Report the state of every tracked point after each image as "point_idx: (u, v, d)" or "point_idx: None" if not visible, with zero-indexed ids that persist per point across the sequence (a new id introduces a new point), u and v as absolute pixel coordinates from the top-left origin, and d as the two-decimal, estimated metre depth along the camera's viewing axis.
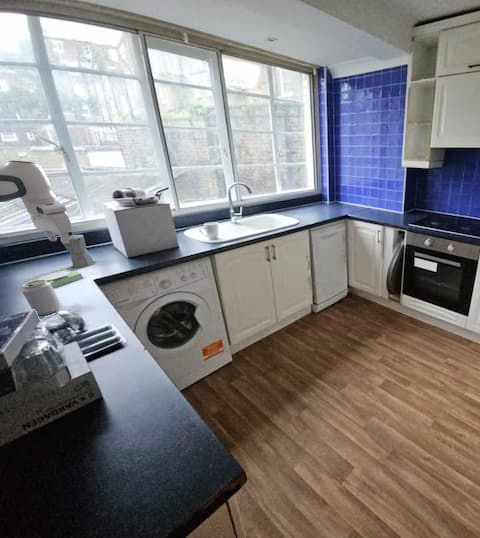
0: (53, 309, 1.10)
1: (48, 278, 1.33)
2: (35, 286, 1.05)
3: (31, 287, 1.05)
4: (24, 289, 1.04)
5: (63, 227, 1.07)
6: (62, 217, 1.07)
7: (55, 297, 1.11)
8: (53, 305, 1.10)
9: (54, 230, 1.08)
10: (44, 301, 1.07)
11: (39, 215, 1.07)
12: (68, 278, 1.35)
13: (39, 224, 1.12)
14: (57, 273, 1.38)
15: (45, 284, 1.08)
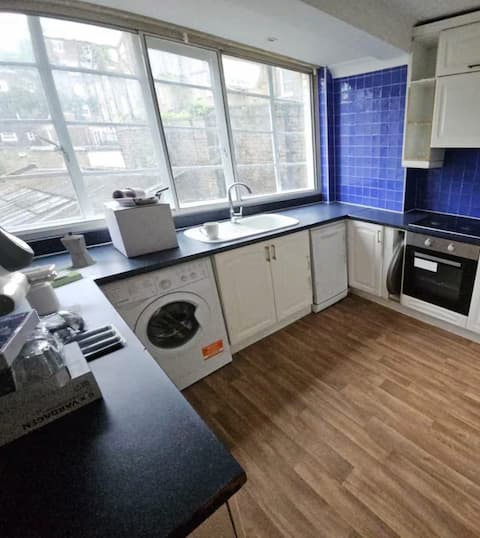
0: (53, 309, 1.10)
1: None
2: (35, 286, 1.05)
3: (31, 287, 1.05)
4: None
5: None
6: None
7: (55, 297, 1.11)
8: (53, 305, 1.10)
9: None
10: (44, 301, 1.07)
11: None
12: (68, 278, 1.35)
13: (30, 269, 0.92)
14: None
15: (45, 284, 1.08)
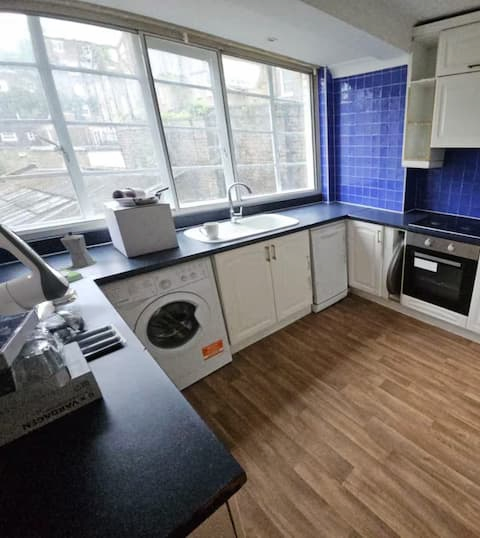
0: None
1: None
2: None
3: None
4: None
5: None
6: None
7: None
8: None
9: None
10: None
11: None
12: (68, 278, 1.35)
13: None
14: None
15: None
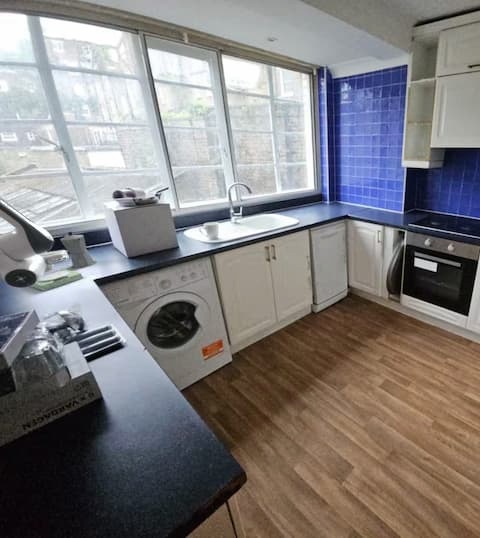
0: (46, 269, 1.19)
1: (48, 278, 1.33)
2: None
3: None
4: None
5: None
6: None
7: None
8: None
9: None
10: None
11: None
12: (68, 278, 1.35)
13: (46, 253, 1.16)
14: (57, 273, 1.38)
15: None
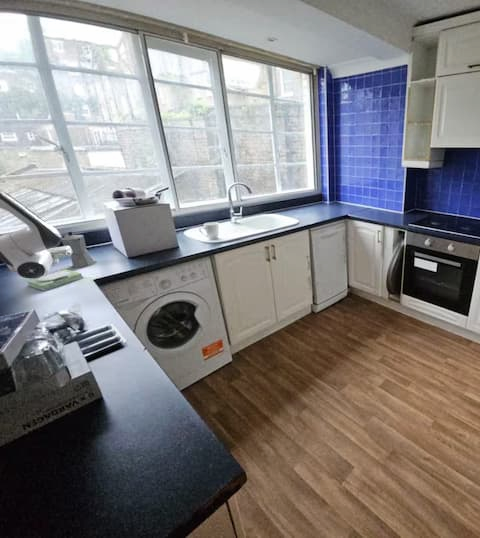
0: (52, 263, 1.31)
1: (48, 278, 1.33)
2: None
3: None
4: None
5: None
6: None
7: None
8: None
9: None
10: None
11: None
12: (68, 278, 1.35)
13: (53, 249, 1.28)
14: (57, 273, 1.38)
15: None
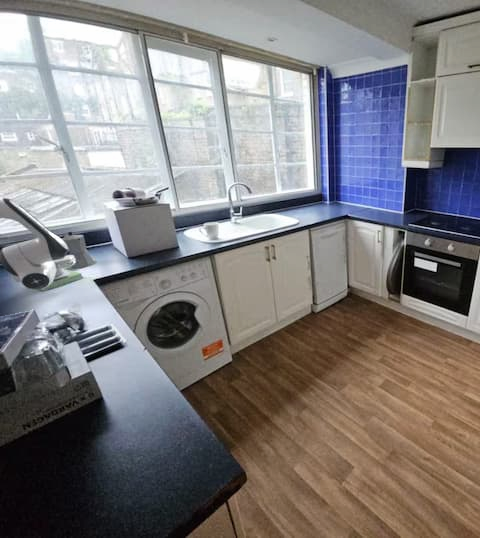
0: (57, 273, 1.33)
1: None
2: None
3: None
4: None
5: None
6: None
7: None
8: (57, 270, 1.33)
9: None
10: None
11: None
12: (68, 278, 1.35)
13: (56, 258, 1.29)
14: None
15: None
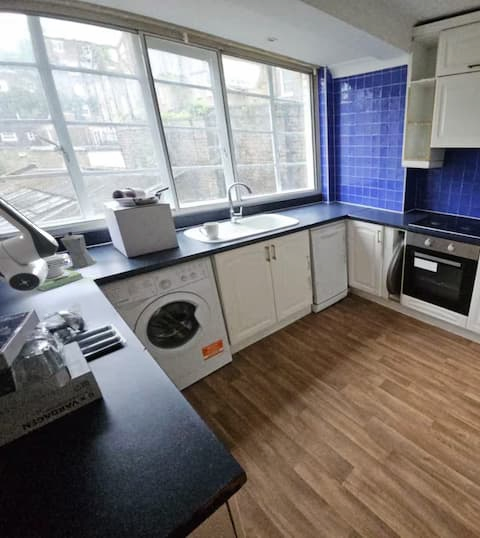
0: (57, 274, 1.33)
1: (48, 278, 1.33)
2: None
3: None
4: None
5: None
6: None
7: None
8: (57, 271, 1.33)
9: None
10: None
11: None
12: (68, 278, 1.35)
13: (49, 257, 1.19)
14: None
15: None
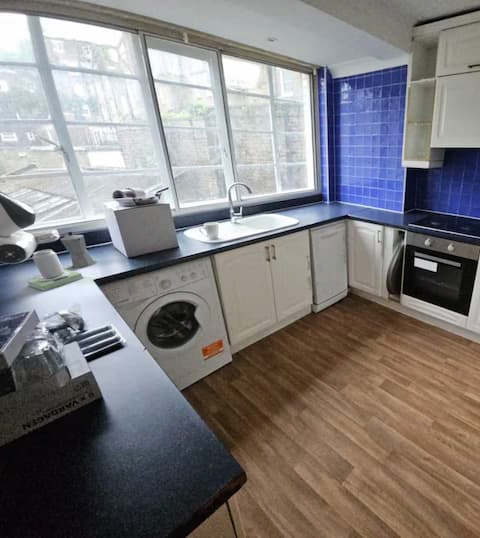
0: (57, 274, 1.33)
1: (48, 278, 1.33)
2: (43, 254, 1.29)
3: (39, 254, 1.28)
4: (34, 256, 1.28)
5: None
6: None
7: (59, 264, 1.34)
8: (57, 271, 1.33)
9: None
10: (50, 267, 1.31)
11: None
12: (68, 278, 1.35)
13: (37, 232, 1.15)
14: None
15: (51, 253, 1.31)
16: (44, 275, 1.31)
